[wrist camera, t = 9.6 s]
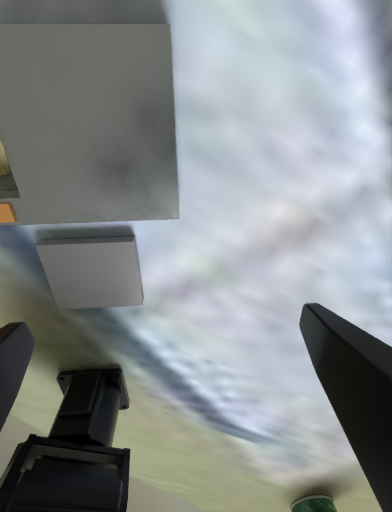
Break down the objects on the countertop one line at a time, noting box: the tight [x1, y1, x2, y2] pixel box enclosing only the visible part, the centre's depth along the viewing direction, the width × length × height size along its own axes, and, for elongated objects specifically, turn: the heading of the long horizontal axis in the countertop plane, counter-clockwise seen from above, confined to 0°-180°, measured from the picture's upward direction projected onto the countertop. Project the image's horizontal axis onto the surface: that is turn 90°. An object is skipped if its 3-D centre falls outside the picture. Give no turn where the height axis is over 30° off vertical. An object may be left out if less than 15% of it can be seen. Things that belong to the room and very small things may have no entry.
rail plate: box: [0, 24, 179, 226], centre depth 15 cm, size 10×17×2 cm, turn 91°
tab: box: [35, 236, 144, 310], centre depth 21 cm, size 6×7×1 cm
